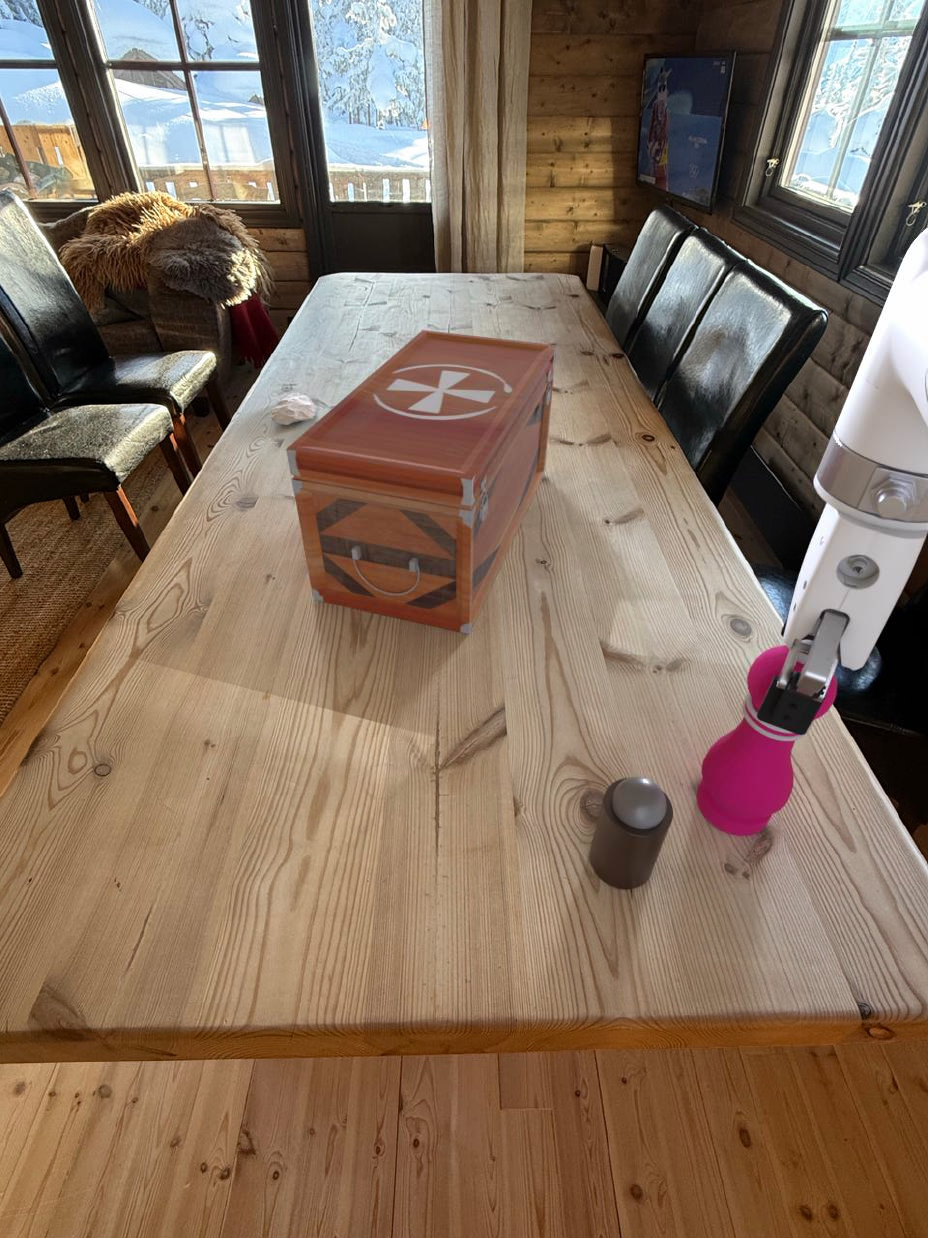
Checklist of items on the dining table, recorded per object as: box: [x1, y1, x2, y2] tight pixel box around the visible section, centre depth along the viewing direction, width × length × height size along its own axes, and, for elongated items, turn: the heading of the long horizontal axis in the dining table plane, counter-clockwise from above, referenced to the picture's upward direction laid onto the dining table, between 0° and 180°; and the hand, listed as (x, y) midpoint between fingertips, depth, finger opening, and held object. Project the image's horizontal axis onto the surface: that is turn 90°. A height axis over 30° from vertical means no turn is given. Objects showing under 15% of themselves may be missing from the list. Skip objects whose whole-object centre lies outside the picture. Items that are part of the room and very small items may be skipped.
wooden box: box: [285, 329, 558, 635], centre depth 86 cm, size 20×41×20 cm, turn 162°
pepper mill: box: [696, 640, 838, 837], centre depth 53 cm, size 7×7×20 cm
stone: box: [270, 392, 317, 426], centre depth 121 cm, size 8×14×2 cm, turn 5°
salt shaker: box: [589, 775, 674, 891], centre depth 52 cm, size 5×5×10 cm
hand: (791, 680), depth 49 cm, fingers open, 9 cm apart
